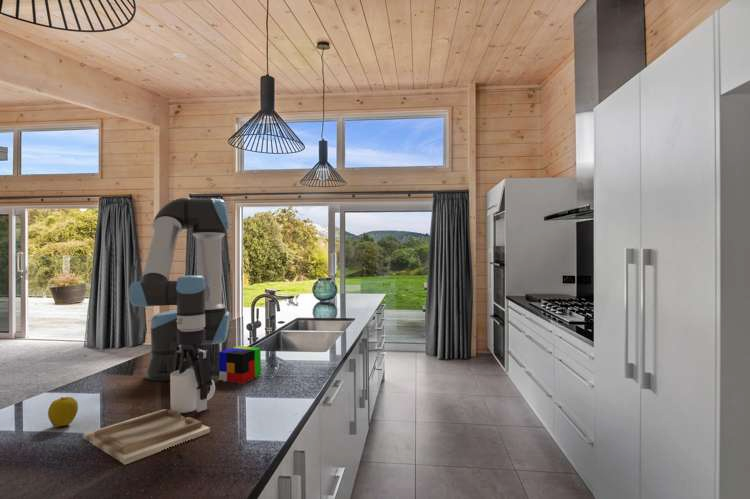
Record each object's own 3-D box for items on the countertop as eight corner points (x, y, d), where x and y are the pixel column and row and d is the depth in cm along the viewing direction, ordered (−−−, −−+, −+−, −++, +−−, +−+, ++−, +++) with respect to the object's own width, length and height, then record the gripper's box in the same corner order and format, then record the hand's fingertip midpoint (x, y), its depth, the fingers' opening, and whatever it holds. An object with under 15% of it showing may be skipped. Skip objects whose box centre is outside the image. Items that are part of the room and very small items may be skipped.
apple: (55, 433, 110) (54, 401, 110) (43, 427, 113) (43, 396, 113) (83, 424, 115) (82, 393, 115) (71, 419, 118) (71, 389, 118)
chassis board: (83, 438, 106) (83, 428, 106) (164, 413, 122) (164, 404, 122) (125, 464, 93) (125, 453, 93) (210, 432, 109) (209, 422, 109)
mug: (217, 401, 132) (217, 366, 132) (213, 411, 123) (212, 374, 123) (174, 404, 129) (174, 369, 129) (167, 414, 121) (166, 377, 121)
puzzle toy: (219, 380, 152) (218, 352, 152) (238, 373, 162) (238, 345, 162) (242, 383, 149) (242, 354, 149) (260, 375, 158) (260, 348, 158)
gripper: (158, 327, 130) (159, 402, 130) (200, 335, 117) (201, 419, 117) (182, 323, 136) (183, 395, 136) (225, 331, 123) (226, 410, 123)
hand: (191, 406), depth 127 cm, fingers open, 9 cm apart
